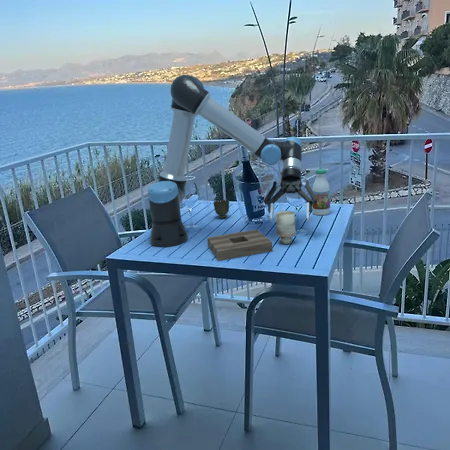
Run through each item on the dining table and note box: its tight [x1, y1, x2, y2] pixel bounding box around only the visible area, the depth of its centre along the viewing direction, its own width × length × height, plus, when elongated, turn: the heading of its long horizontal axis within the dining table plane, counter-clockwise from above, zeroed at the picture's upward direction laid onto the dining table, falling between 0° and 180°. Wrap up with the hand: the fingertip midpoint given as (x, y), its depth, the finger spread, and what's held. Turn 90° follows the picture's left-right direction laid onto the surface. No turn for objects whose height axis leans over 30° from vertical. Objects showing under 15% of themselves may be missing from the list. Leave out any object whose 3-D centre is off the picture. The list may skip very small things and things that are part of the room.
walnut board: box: [206, 229, 273, 262], centre depth 150 cm, size 16×20×4 cm
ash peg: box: [275, 210, 296, 245], centre depth 151 cm, size 7×7×11 cm
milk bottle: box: [311, 168, 331, 216], centre depth 182 cm, size 8×8×20 cm
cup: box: [213, 199, 230, 219], centre depth 190 cm, size 8×7×8 cm
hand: (289, 219), depth 153 cm, fingers open, 13 cm apart
